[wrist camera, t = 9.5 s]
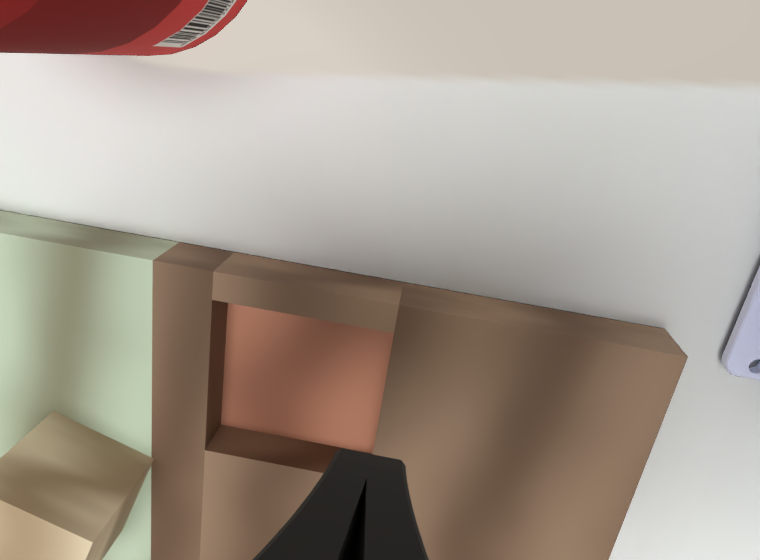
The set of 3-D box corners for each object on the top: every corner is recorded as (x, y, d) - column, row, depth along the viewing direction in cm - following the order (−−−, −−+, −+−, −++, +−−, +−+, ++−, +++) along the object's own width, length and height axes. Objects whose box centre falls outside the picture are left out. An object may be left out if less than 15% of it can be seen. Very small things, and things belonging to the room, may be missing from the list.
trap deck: (664, 328, 20) (687, 356, 18) (514, 738, 28) (519, 787, 26) (-11, 208, 21) (-56, 223, 19) (32, 636, 29) (3, 677, 27)
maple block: (154, 458, 21) (93, 542, 18) (122, 530, 23) (59, 621, 19) (53, 410, 21) (-31, 485, 17) (27, 486, 23) (-55, 570, 19)
